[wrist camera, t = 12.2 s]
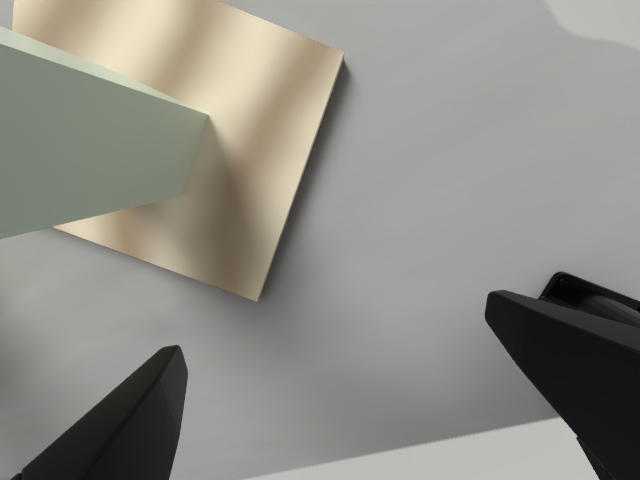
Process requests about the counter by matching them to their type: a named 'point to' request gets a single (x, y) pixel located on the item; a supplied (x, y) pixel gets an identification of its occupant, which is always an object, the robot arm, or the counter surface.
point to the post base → (219, 131)
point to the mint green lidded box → (84, 138)
